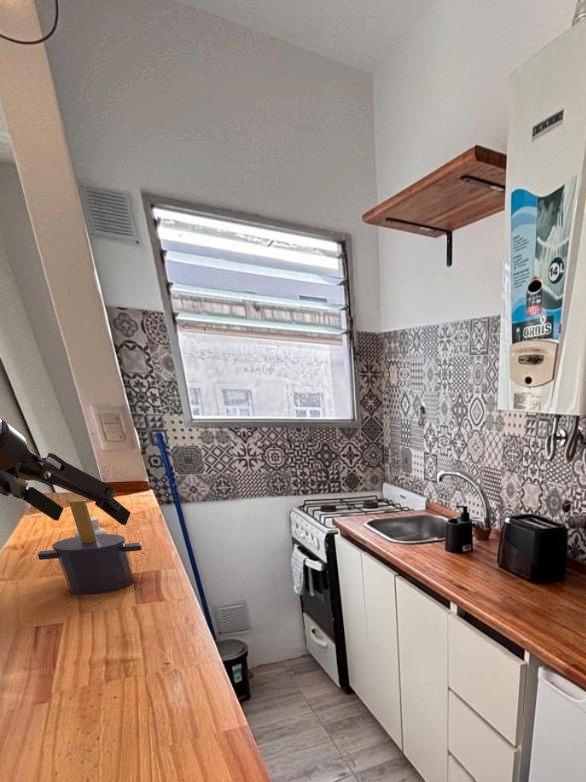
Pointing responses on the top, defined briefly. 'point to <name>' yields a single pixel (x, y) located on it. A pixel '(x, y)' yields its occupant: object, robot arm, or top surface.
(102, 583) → the pot
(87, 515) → the lid
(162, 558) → the top surface
